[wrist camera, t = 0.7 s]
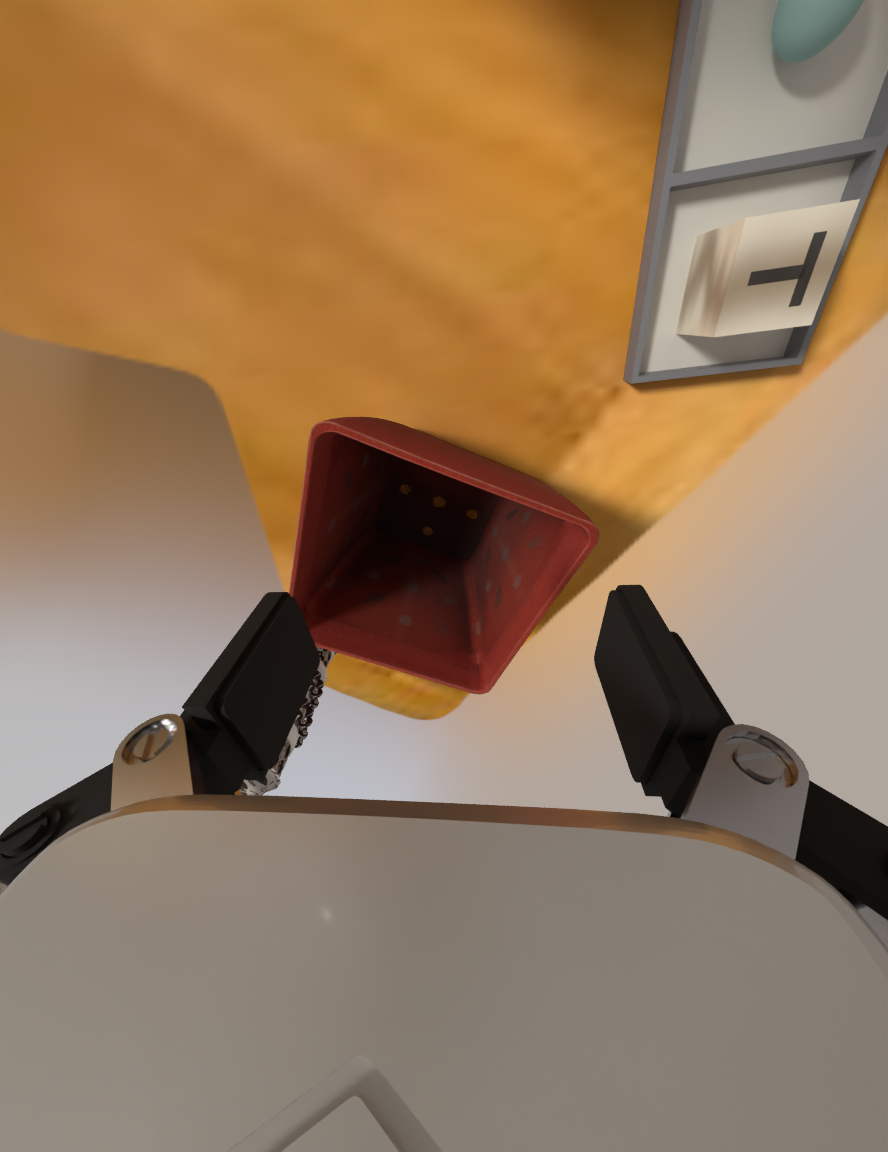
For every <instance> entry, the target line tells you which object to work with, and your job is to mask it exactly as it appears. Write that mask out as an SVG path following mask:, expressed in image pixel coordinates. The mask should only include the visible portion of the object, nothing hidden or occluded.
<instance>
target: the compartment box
mask: <svg viewBox="0 0 888 1152" xmlns="http://www.w3.org/2000/svg"><path fill="white" fill-rule="evenodd" d="M778 2H779V0H680V6H679V13H678V19H677V26H676V33H675V39H674V46H673V53H672V59H671V66H670V73H669V79H668V86H667V93H666V99H665V106H664V113H663V119H662V126H661V133H660V139H659V146H658V153H657V159H656V166H655V173H654V179H653V186H652V193H651V199H650V206H649V213H648V219H647V226H646V233H645V239H644V246H643V253H642V259H641V266H640V273H639V279H638V286H637V293H636V299H635V306H634V313H633V319H632V326H631V333H630V339H629V346H628V353H627V359H626V366H625V373H624V379H623V380H624V381H626V382H628V383H630V384H633V383H642V382H651V381H659V380H668V379H677V378H686V377H694V376H703V375H712V374H721V373H730V372H738V371H747V370H756V369H765V368H773V367H782V366H791V365H800V364H802V361H803V359H804V356H805V354H806V351H807V349H808V346H809V343H810V341H811V338H812V336H813V333H814V331H815V328H816V326H817V323H818V321H819V318H820V315H821V313H822V310H823V308H824V305H825V303H826V300H827V298H828V295H829V293H830V290H831V288H832V285H833V282H834V280H835V277H836V275H837V272H838V270H839V267H840V265H841V262H842V260H843V257H844V254H845V252H846V249H847V247H848V244H849V242H850V239H851V237H852V234H853V232H854V229H855V227H856V224H857V221H858V219H859V216H860V214H861V211H862V209H863V206H864V204H865V201H866V199H867V196H868V193H869V191H870V188H871V186H872V183H873V181H874V178H875V176H876V173H877V171H878V168H879V166H880V163H881V160H882V158H883V155H884V153H885V150H886V148H887V145H888V0H864V2H863V3H862V5H861V7H860V8H859V10H858V12H857V13H856V14H855V16H854V17H853V19H852V20H851V22H850V23H849V24H848V25H847V27H846V28H845V29H844V30H843V31H842V32H841V34H840V35H839V36H838V37H837V38H836V39H835V40H834V41H833V42H832V43H830V44H829V45H828V46H827V47H826V48H825V49H823V50H822V51H821V52H819V53H818V54H816V55H814V56H813V57H811V58H809V59H806V60H804V61H800V62H795V63H790V62H785V61H783V60H781V59H780V58H779V57H778V56H777V55H776V53H775V51H774V49H773V45H772V38H771V35H772V24H773V19H774V15H775V11H776V8H777V5H778ZM857 199H860V201H859V203H858V206H857V208H856V211H855V214H854V216H853V219H852V221H851V224H850V226H849V229H848V232H847V234H846V237H845V239H844V242H843V245H842V247H841V250H840V252H839V255H838V257H837V260H836V263H835V265H834V268H833V270H832V273H831V276H830V278H829V281H828V283H827V286H826V289H825V291H824V294H823V296H822V299H821V301H820V304H819V307H818V309H817V312H816V314H815V317H814V320H813V322H812V325H808V326H800V327H792V328H784V329H776V330H768V331H760V332H752V333H744V334H736V335H728V336H721V337H705V336H694V335H682V334H676V331H677V326H678V321H679V316H680V312H681V307H682V302H683V297H684V293H685V288H686V283H687V278H688V274H689V269H690V264H691V259H692V255H693V250H694V245H695V240H696V236H698V235H700V234H703V233H706V232H709V231H711V230H714V229H717V228H719V227H722V226H725V225H728V224H730V223H733V222H736V221H738V220H741V219H744V218H748V217H754V216H760V215H766V214H772V213H778V212H784V211H790V210H796V209H802V208H808V207H814V206H821V205H827V204H833V203H839V202H845V201H851V200H857Z"/></svg>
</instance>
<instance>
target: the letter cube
mask: <svg viewBox="0 0 888 1152" xmlns="http://www.w3.org/2000/svg"><path fill="white" fill-rule="evenodd" d="M859 201H860V199H857V200H851V201H845V202H839V203H833V204H827V205H821V206H814V207H808V208H802V209H796V210H790V211H784V212H778V213H772V214H766V215H760V216H754V217H748V218H744V219H741V220H738V221H736V222H733V223H730V224H728V225H725V226H722V227H719V228H717V229H714V230H711V231H709V232H706V233H703V234H700V235H698V236H696V240H695V245H694V250H693V255H692V259H691V264H690V269H689V274H688V278H687V283H686V288H685V293H684V297H683V302H682V307H681V312H680V316H679V321H678V326H677V331H676V334H682V335H694V336H705V337H721V336H728V335H736V334H744V333H752V332H760V331H768V330H776V329H784V328H792V327H800V326H808V325H812V322H813V320H814V317H815V314H816V312H817V309H818V307H819V304H820V301H821V299H822V296H823V294H824V291H825V289H826V286H827V283H828V281H829V278H830V276H831V273H832V270H833V268H834V265H835V263H836V260H837V257H838V255H839V252H840V250H841V247H842V245H843V242H844V239H845V237H846V234H847V232H848V229H849V226H850V224H851V221H852V219H853V216H854V214H855V211H856V208H857V206H858V203H859Z"/></svg>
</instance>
